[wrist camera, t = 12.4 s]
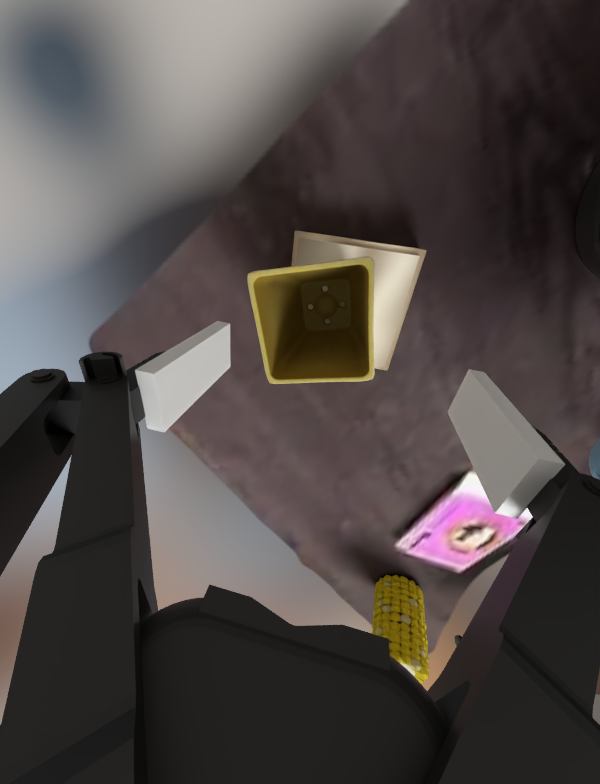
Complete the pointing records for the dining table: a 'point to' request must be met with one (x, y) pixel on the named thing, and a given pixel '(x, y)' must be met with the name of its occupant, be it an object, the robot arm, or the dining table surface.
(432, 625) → the dining table surface
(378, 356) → the cream square block
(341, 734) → the robot arm
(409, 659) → the food
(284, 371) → the flower pot
